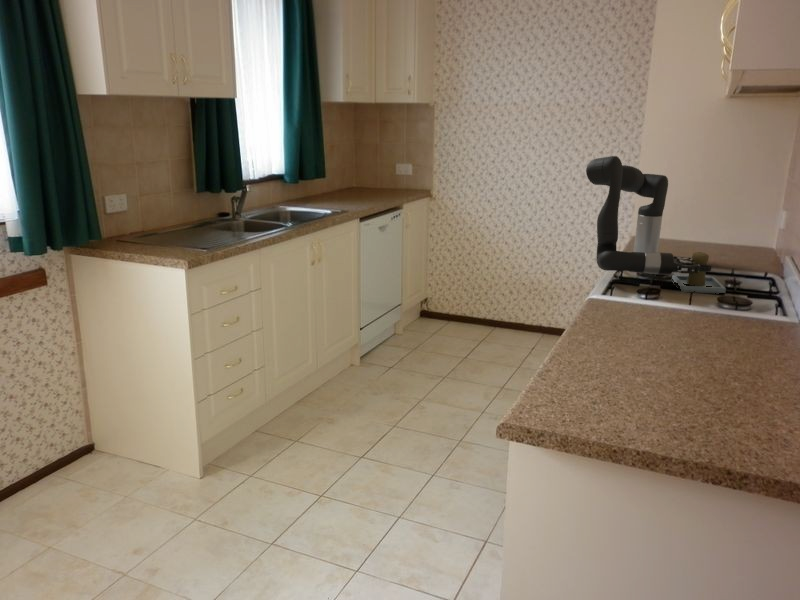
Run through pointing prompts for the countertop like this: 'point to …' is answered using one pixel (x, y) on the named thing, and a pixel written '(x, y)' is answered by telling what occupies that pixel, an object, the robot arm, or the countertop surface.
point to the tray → (709, 281)
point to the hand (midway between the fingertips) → (708, 266)
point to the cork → (699, 278)
